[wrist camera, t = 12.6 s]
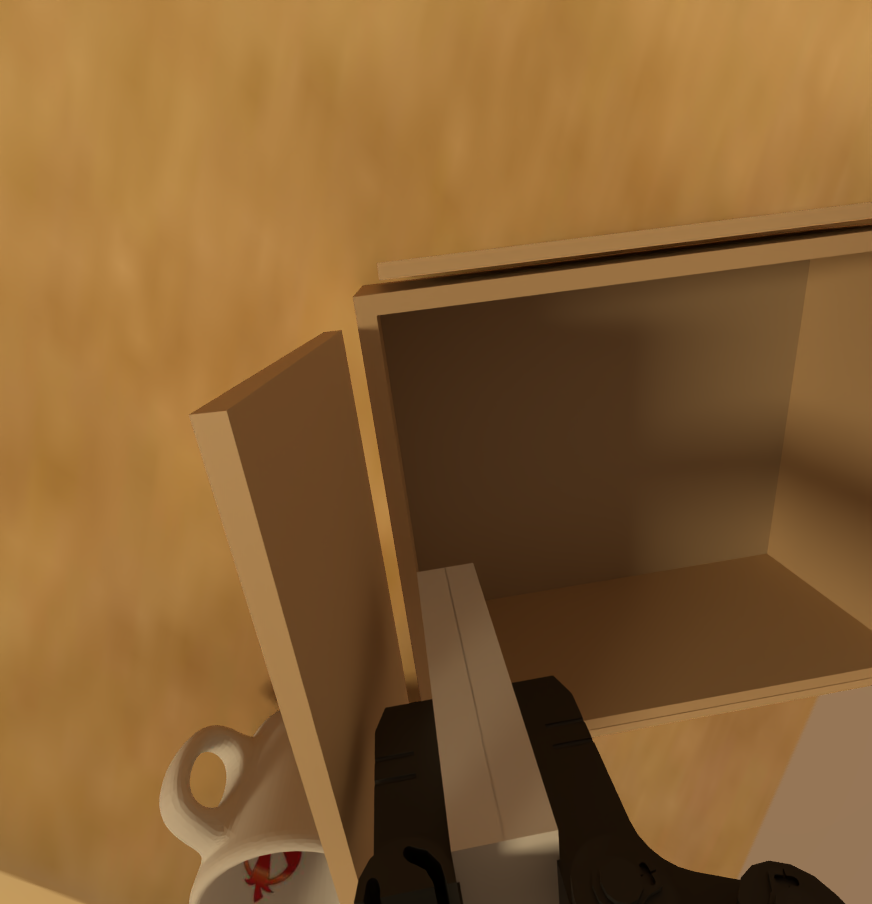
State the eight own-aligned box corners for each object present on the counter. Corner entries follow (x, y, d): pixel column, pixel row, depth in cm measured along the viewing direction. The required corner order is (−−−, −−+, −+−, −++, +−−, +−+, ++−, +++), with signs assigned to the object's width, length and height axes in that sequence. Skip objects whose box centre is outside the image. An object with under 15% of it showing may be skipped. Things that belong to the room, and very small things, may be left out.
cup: (162, 727, 26) (76, 911, 19) (253, 628, 25) (199, 786, 17) (326, 805, 29) (309, 988, 22) (415, 723, 28) (429, 889, 20)
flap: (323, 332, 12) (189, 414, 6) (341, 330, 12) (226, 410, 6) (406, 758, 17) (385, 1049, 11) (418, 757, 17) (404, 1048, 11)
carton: (359, 266, 19) (347, 266, 12) (819, 210, 20) (1073, 177, 13) (417, 624, 25) (432, 772, 18) (766, 566, 27) (916, 681, 19)
